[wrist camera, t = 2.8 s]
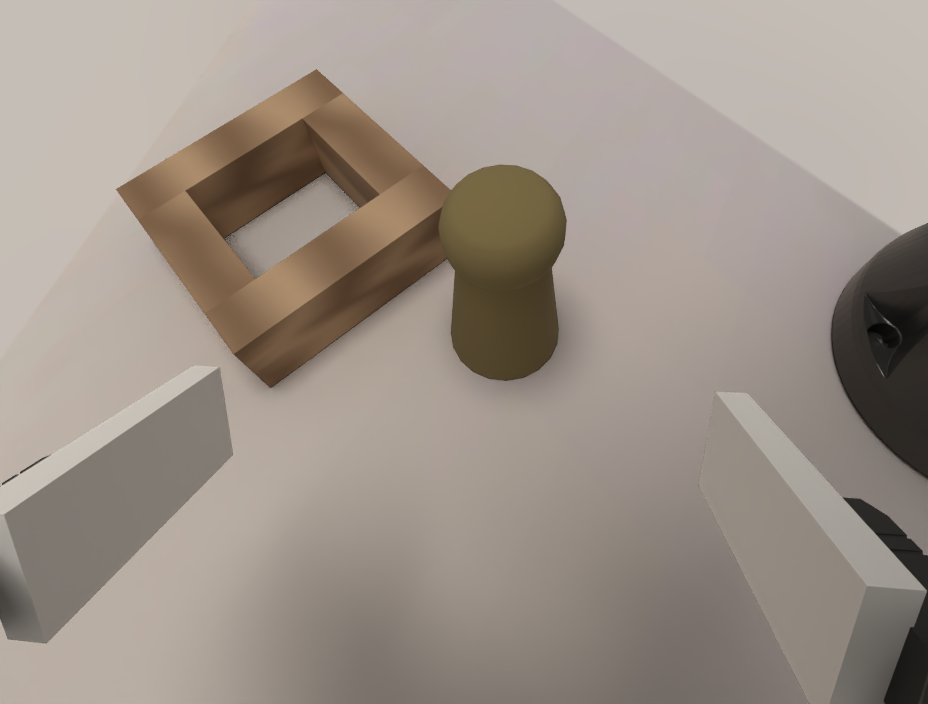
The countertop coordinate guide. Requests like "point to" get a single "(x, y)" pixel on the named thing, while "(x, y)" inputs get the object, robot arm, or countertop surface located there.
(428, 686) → the countertop surface
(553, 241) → the cork
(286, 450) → the countertop surface
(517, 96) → the countertop surface
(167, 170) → the socket block
